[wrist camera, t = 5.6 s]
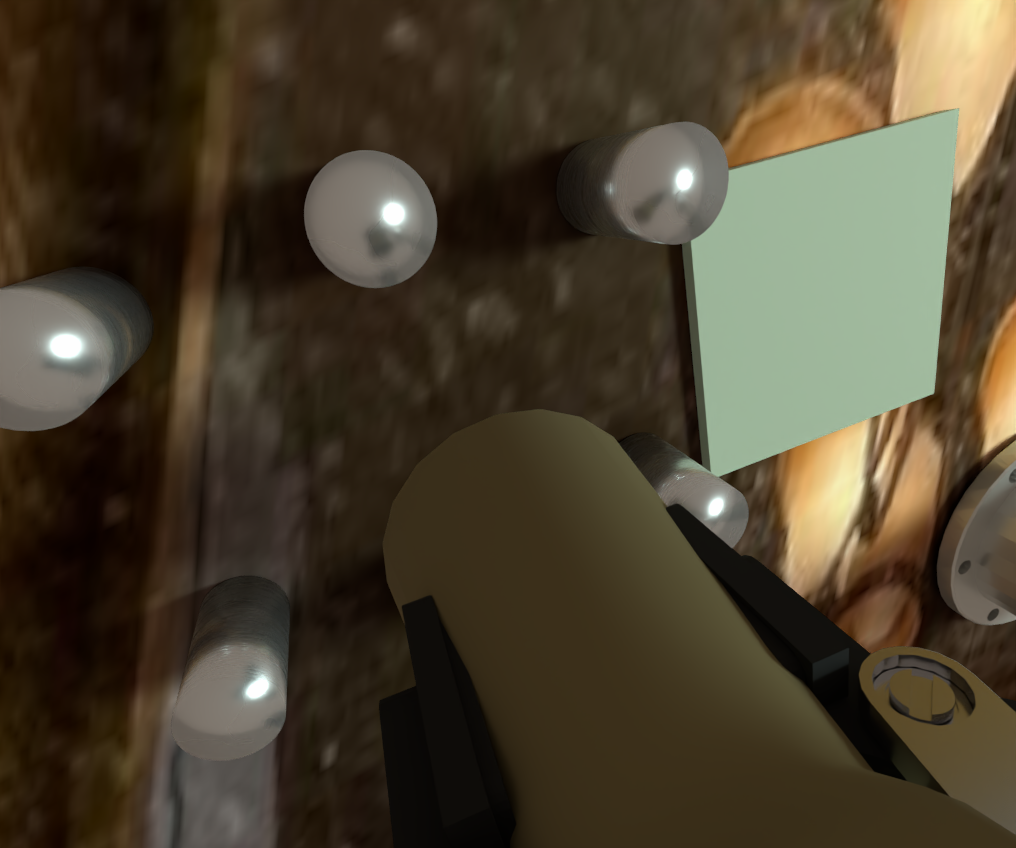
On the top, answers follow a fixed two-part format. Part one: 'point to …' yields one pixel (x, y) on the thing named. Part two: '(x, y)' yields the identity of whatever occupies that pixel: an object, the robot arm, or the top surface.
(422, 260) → the spacer field
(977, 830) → the olive rounded piece
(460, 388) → the top surface
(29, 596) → the top surface
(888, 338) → the mat
